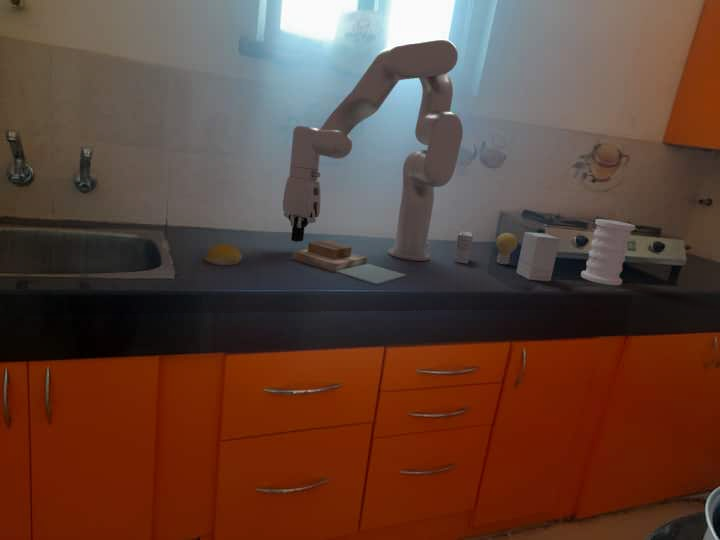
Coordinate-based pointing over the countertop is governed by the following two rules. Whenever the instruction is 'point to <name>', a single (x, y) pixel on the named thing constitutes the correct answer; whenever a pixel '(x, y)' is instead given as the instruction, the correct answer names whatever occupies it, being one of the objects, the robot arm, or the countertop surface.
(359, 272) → the teal mat
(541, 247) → the supplement box
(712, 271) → the countertop surface
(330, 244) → the walnut tile
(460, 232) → the medicine box
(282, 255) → the countertop surface
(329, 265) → the ash deck
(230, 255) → the bread roll
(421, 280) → the countertop surface
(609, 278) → the decorative container
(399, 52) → the robot arm
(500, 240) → the light bulb
